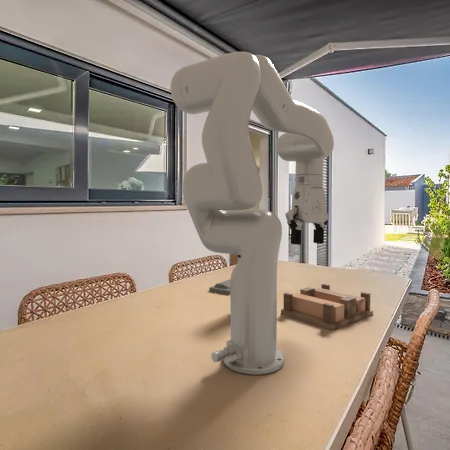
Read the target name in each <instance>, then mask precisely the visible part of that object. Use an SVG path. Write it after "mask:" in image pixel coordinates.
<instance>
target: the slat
mask: <svg viewBox="0 0 450 450" xmlns="http://www.w3.org/2000/svg"><path fill="white" fill-rule="evenodd" d="M324 303H328V304H332V305H334V319H333V321H334V322H337V321H340V320H343V319H344V304H340V303H336V302H332V301H328V300H324V299H319V298H315V297H311V296H307V295H303V294H300V293H299V292H298V293H294V294H293V293H292V309H293V310H296V311H299V312H303V313H306V314H310V315H313V316H317V317H320V318H323V304H324Z"/></svg>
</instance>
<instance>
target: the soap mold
mask: <svg viewBox="0 0 450 450" xmlns="http://www.w3.org/2000/svg"><path fill="white" fill-rule="evenodd" d="M209 291H210V292H211V293H215V292H216V293H215V294H220V293H222V295H226V294H227V295H226V296H230V279H227V280H223V281H221V282H217V283H216V284H214V285H213V286H211V287H209V290H208V292H209Z"/></svg>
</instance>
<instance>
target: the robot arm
mask: <svg viewBox="0 0 450 450" xmlns="http://www.w3.org/2000/svg"><path fill="white" fill-rule="evenodd" d="M170 93H171V98H172V100H173V103H174V104H175V105H176V107H178V109H179V110H180V111H182V112H184V113H185V114H188V115H198V114H202V113H203V114H204V113H206V112H207V113H208V114H207V116H206V119H205V120H204V121H205V122H204V125H203V128H202V133H201V146H202V149H203V153H204V156H205V160H206V162H201V163H197V164H194V165H192V166H191V167H190V168H189V169H188V170H187V171H186V172H185V175H184V178H183V181H182V183H183V184H182V195H183V200H184V202H185V205H186V208H187V210H188V213H189V216H190V217H191V221H192V223H193V225H194V228H195V230H196V234H197V235H198V237H199V240H200V242H201V243H202V245H203V246H204V247H205V248H206V249H207V250H208V251H210V252H212V253H219V254H227V255H228V254H229V255H237V256H238V255H241V258H240V260H239V261H238V260H237V263H236V264H235V266H234V268H233V269H232V271H231V274H230V279H229V280H230V295H229V296H230V301H229V303H230V340H229V339H228V340H227V341H226V346H225V347H223V349H221V350H220V349H219V350H216V351H213V352H212V353H211V356H210V357H211V359H212V362H213V363H219V362H222V361H223V363H224V365H225V366H226V367H227V368H229V369H231V370H232V371H234V372H238V373H240V374H247V375H253V376H254V375H255V376H256V375H265V374H267V375H268V374H271V373H273V372H276V371H279V369H282V367H283V366H284V363H285V356H284V353H283V352H281V350H279V349H278V348H277V334H278V333H277V329H278V328H277V323H278V322H277V317H278V316H277V313H278V310H277V306H278V305H277V301H278V299H277V298H278V297H277V294H278V293H277V287H278V286H277V284H278V283H277V281H278V279H277V278H278V277H277V276H278V261H279V260H278V259H279V252H280V247H281V241H282V233H283V226H282V222H281V220H280V218H279V217H278V216H277V215H276V214H275V213H274V212H272V211H269V210H266V209H261V208H260V209H259V208H254V207H256V206H258V205H259V203H261V201H262V198H263V184H262V180H261V176H260V172H259V168H258V165H257V161H256V158H255V154H254V150H253V147H252V142H251V138H250V129H249V126H250V125H249V124H250V119H251V114H252V112H253V114H254V115H255V117H256V118H257V119H258V120H259V123H261V125H262V126H263V127H264V128H266V129H269V130H271V131H275V132H279V133H283V134H281V135H280V136H279V137H278V139H277V140H276V143H275V148H276V149H275V150H276V153H277V155H278V156H279V158H280V159H282V160H283V161H286V162H295V178H294V181H295V182H294V183H295V184H294V186H295V187H294V188H293V189H294V190H293V193H292V201H291V202H292V203H291V209H290V210H288V211H287V212H286V213H285V214H284V215H285V219H286V222H287V223H286V224H287V225H288V227H289V230H290V244H291V245H298V246H301V245H302V229H301V228H302V226H303V224H304V223H306V224H312V225H313V227H314V229H313V241H312V242H313V244H320V245H321V244H324V241H325V230H326V228H327V224H328V220H329V217H330V214H329V213H328V212H327V197H326V191H325V187H324V161H325V160H324V159H325V158H328V157H329V156H330V155H331V154H332V153H333V151H334V145H335V144H334V143H335V142H334V141H335V140H334V136H333V133H332V130H331V128H330V125H329V124H328V121H327V120H326V118H325V117H324V115H323V114H322V113H320V112H319V111H317V110H316V109H314V108H312V107H310V106H308V105H306V104H304V103H302V102H299V101H297V100H294V99H293V98H292V95H291V93H290V92H289V91H288V89H287V87H286V85H285V84H284V82H283V80H282V79H281V76H280V74H279V72H278V70H276V67H275V66H274V64H273V63H272V61H271V60H270V59H269V58H268V57H267V56H264V55H262V54H253V53H251V52H248V51H234V52H229V53H224V54H221V55H218V56H214V57H211V58H207V59H205V60H203V61H199V62H196V63H192V64H189V65H187V66H183V67H181V68H179V69H178V70H177V71H176V72H175V73H174V75H173V76H172V78H171V81H170Z"/></svg>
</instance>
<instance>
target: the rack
mask: <svg viewBox="0 0 450 450" xmlns="http://www.w3.org/2000/svg"><path fill="white" fill-rule="evenodd" d="M330 288H331V286H330V284H328V283H322V284H321V287H318V288H314V287H304V288H300V293H299V294H303V295H307V296H311V297H315V298H319V299H324V300H328V301H332V302H336V303H340V304H344V319H343V320H340V321H337V322H334V321H333V319H334V305H332V304H328V303H324V304H323V318H320V317H317V316H313V315H310V314H306V313H303V312H299V311H296V310H293V309H292V295H293V293H289V292H284V293H283V308H281V310H280V314H282V315H285V316H288V317H291V318H294V319H298V320H301V321H303V322H306V323H310V324H314V325H315V326H319V327H322V328H325V329H328V330H331V331H335V330H337V329H340V328H342V327H345V326H347V325H350V324H352V323H355V322H358V321H360V320H363V319H366V318H368V317H370V316H373V315H374V311H373V310H372V309H371V293H369V292H365V291H362V292H360V296H357V295H354V294H349V293H344V292H339V291H336V290H331V289H330Z"/></svg>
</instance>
